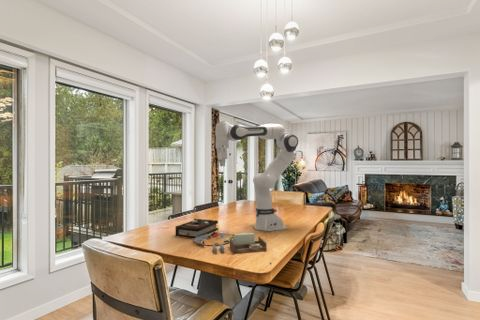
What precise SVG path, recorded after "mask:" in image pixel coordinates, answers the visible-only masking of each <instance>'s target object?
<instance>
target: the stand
mask: <svg viewBox="0 0 480 320" xmlns="http://www.w3.org/2000/svg"><path fill="white" fill-rule="evenodd" d="M219 244H220V245H219V249H220V251H221V253H222V254H225V253H226V252H225V247H224V244H223V243H219ZM212 247H213V248H212V250H213V252H214V254H215V255H217V254H218V249H217V245H215V244H212Z"/></svg>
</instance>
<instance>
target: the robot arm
mask: <svg viewBox="0 0 480 320" xmlns="http://www.w3.org/2000/svg"><path fill="white" fill-rule="evenodd" d="M214 134H215V149H216V156H217V159H218V161H219V166H220V167H226V160H227V159H228V149H230V145H229V143H230V142H229V141H232V142H236V141H242V140H244V139H245V138H247V137H248V138H249V137H258V138H259V139H261V140H268V141H269V140H273V141H274V145H275V146H276V148H277V149H279V150H280V152H279V154H277V156H275V157H274V159H273V160H272V161H270V163H269V164H268V167H266V169H265V171H264V172H259V173H256V174H255V175H254V176H253V179H252V182H253V186H254V192H255V197H256V198H255V201H256V203H255V204H256V205H255V206H256V207H255V218H256V219H255V222H254V223H255V224H254V229H255V230H257V231H265V232H273V231H281V230H287V226H286V225H285V224H284V221H283V219H282V218H281V217H280V216H279V215H278V214H276V213H277V211H278V210H277V209H276V208H273V201H272V200H273V196H272V195H271V190H270V189H272V188H274V187H275V186H276V184H277V183H276V182H277V181H278V179H279V177H281V175H282V174H283V173H284V172H285V170H286V169H287V168H288V167H289V166H290V165H291V164H292V162H294V159H295V156H296V154H295V151H296V149H297V147H298V144H299V139H298V137H297V136H296V135H295V134H293V133H290V134H289V133H286V129H285V127H284V125H283V124H279V123H265V124H261V125H259V126H245V125H242V124H234V125H233V124H231V123H229V122H228V121H227V120H226V121H225V120H224V121H219V122H217V123H216V124H215V133H214Z"/></svg>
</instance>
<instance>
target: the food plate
mask: <svg viewBox="0 0 480 320" xmlns="http://www.w3.org/2000/svg"><path fill="white" fill-rule="evenodd" d="M234 234H235V233H233V234H230V233H226V232H217V231H214V232H212V233H210V234H205V235H201V236H198V237H196V238H194V239H193V241H194V243H196V244H199V245H204V246H206V244H205V240H206V241H207V240H218V239H220V240H221V239H225V240H224V241H223V244H224V245H225V244H228V243H229V244H230V239H232V241H233V242H234ZM204 239H205V240H204ZM201 241H202V242H201ZM213 244H215V246H220V244H221V243H218V242H212V243H211V245H213Z"/></svg>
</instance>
